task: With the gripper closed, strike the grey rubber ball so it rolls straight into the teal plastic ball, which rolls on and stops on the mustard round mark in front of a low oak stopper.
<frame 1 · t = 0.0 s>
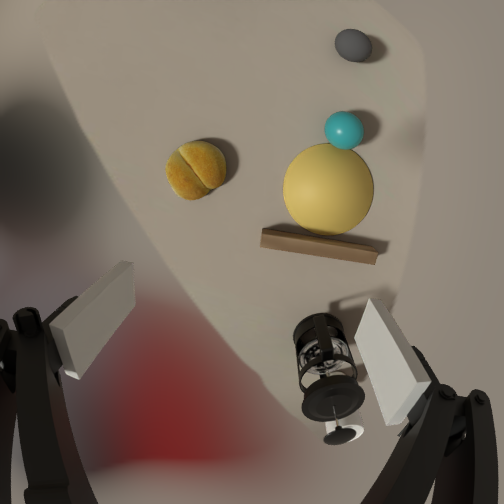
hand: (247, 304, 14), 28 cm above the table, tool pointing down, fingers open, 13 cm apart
french press: (318, 331, 48), on the table
bread roll: (197, 170, 40), on the table
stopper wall: (318, 243, 42), on the table
ball A: (353, 45, 29), on the table
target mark: (329, 190, 39), on the table
drinking glass: (333, 378, 52), on the table
ball B: (344, 130, 33), on the table
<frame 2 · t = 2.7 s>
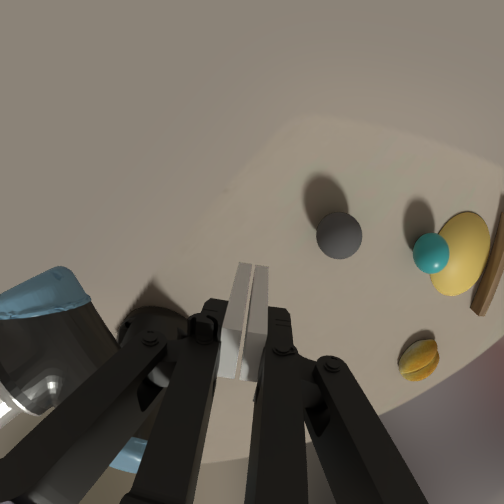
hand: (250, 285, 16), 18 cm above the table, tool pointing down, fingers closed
bread roll: (417, 355, 41), on the table
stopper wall: (490, 262, 33), on the table
ball A: (339, 235, 31), on the table
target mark: (462, 255, 34), on the table
ball B: (431, 253, 31), on the table
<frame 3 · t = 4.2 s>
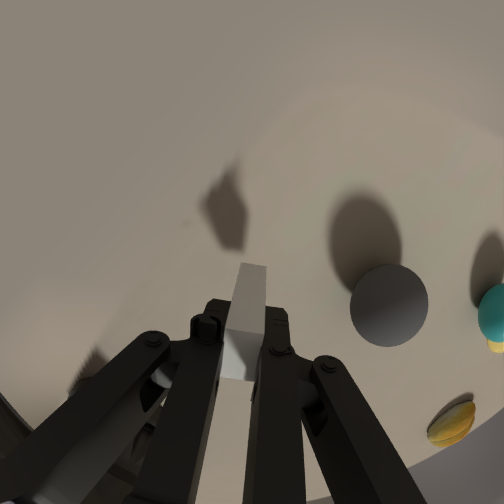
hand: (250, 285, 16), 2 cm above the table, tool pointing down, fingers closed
bread roll: (449, 418, 26), on the table
ball A: (389, 305, 16), on the table
ball B: (502, 313, 16), on the table
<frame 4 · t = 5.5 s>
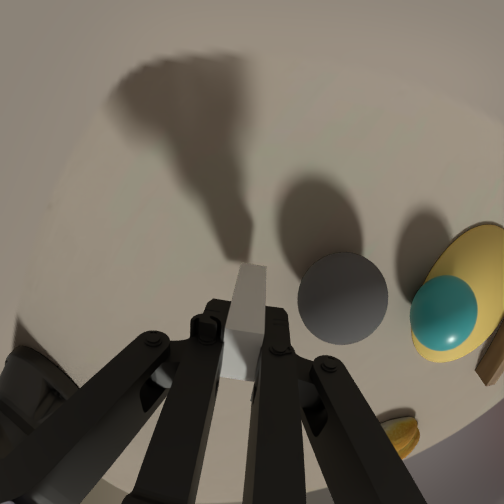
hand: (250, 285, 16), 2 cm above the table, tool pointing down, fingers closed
bread roll: (387, 433, 26), on the table
ball A: (343, 298, 16), on the table
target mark: (472, 300, 18), on the table
ball B: (444, 313, 16), on the table
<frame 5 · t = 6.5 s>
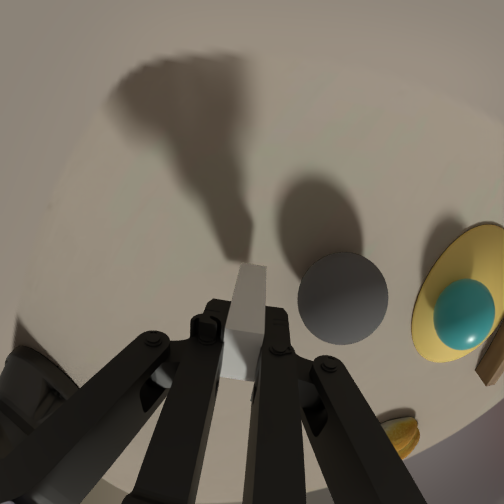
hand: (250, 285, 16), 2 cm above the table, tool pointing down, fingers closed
bread roll: (387, 433, 26), on the table
ball A: (343, 298, 16), on the table
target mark: (472, 300, 18), on the table
ball B: (464, 314, 16), on the table
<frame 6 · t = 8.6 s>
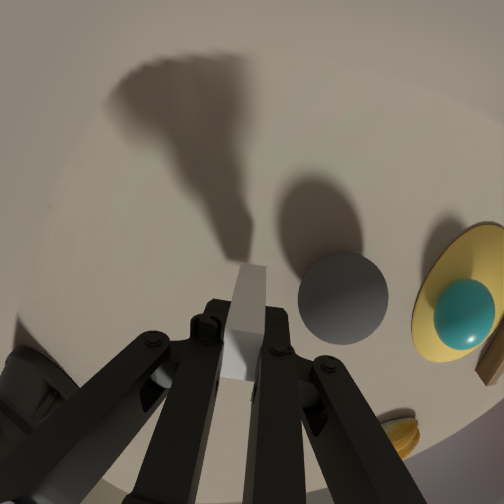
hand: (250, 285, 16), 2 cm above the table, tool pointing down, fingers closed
bread roll: (387, 433, 26), on the table
ball A: (343, 298, 16), on the table
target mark: (473, 300, 18), on the table
ball B: (464, 314, 16), on the table
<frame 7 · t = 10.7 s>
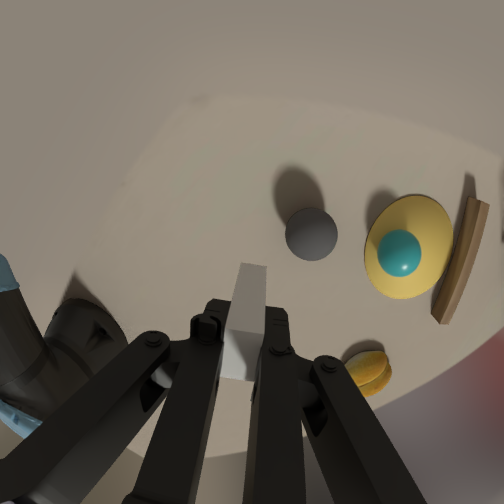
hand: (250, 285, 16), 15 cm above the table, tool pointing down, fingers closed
bread roll: (364, 368, 38), on the table
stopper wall: (456, 259, 31), on the table
ball A: (311, 234, 28), on the table
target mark: (412, 249, 31), on the table
ball B: (399, 253, 28), on the table
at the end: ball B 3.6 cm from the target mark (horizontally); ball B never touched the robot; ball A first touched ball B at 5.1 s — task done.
